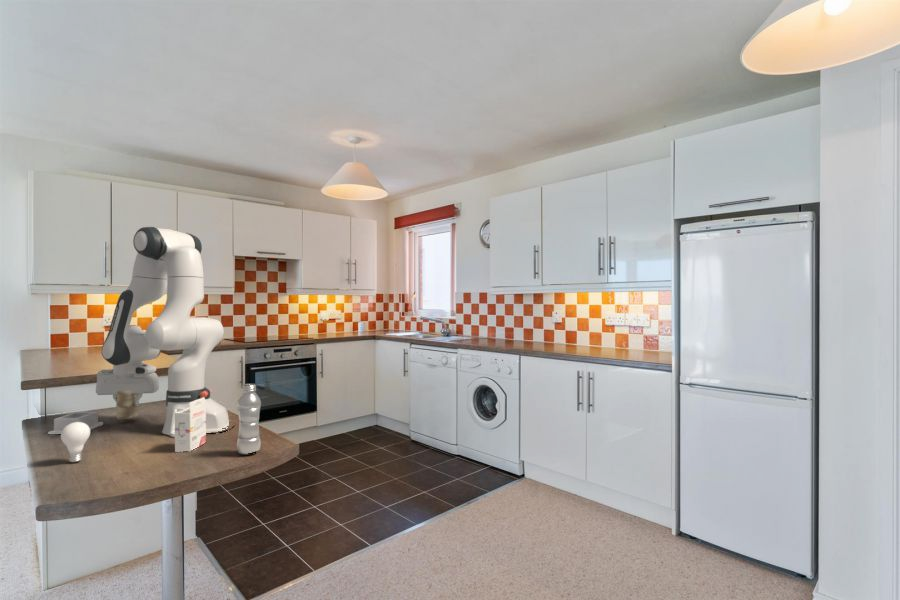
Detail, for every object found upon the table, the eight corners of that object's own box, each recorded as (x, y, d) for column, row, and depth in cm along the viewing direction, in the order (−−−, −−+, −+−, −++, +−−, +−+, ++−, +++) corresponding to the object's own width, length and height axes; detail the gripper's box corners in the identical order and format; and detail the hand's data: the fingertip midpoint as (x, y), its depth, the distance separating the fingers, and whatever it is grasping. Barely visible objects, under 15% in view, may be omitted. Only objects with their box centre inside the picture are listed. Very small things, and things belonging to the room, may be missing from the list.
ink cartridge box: (190, 443, 142) (191, 396, 143) (206, 443, 142) (206, 396, 142) (173, 452, 134) (173, 402, 134) (190, 452, 134) (190, 402, 134)
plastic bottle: (255, 448, 138) (255, 382, 138) (264, 453, 133) (264, 384, 133) (233, 453, 133) (233, 384, 133) (241, 458, 128) (242, 387, 128)
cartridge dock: (102, 424, 165) (103, 410, 166) (81, 433, 154) (81, 418, 154) (72, 425, 164) (72, 411, 164) (48, 435, 152) (48, 420, 152)
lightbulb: (65, 467, 121) (66, 426, 121) (56, 463, 125) (56, 423, 125) (94, 461, 127) (94, 421, 127) (84, 457, 130) (84, 418, 130)
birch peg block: (137, 415, 173) (137, 388, 174) (129, 418, 167) (129, 391, 168) (126, 415, 173) (126, 389, 173) (117, 419, 167) (117, 391, 167)
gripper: (91, 370, 166) (91, 409, 166) (152, 369, 169) (152, 406, 169) (102, 368, 172) (102, 405, 172) (160, 366, 175) (160, 403, 175)
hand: (127, 405), depth 170 cm, fingers closed on birch peg block, 4 cm apart
